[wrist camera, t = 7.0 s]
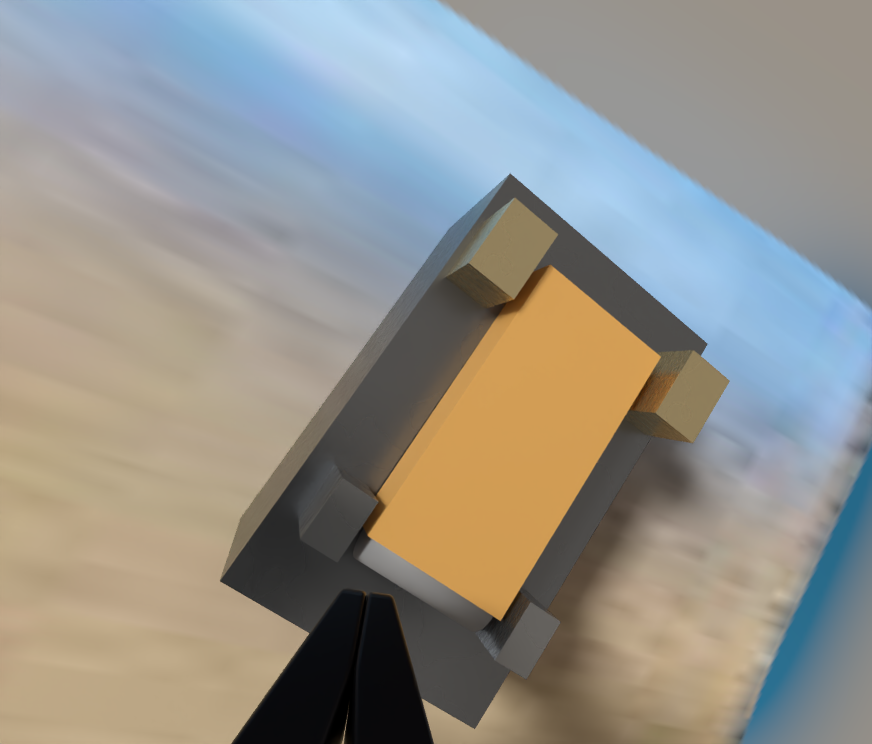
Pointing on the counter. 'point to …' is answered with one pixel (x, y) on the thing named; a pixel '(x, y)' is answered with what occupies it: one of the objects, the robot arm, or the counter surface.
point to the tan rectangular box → (505, 452)
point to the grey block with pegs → (408, 412)
